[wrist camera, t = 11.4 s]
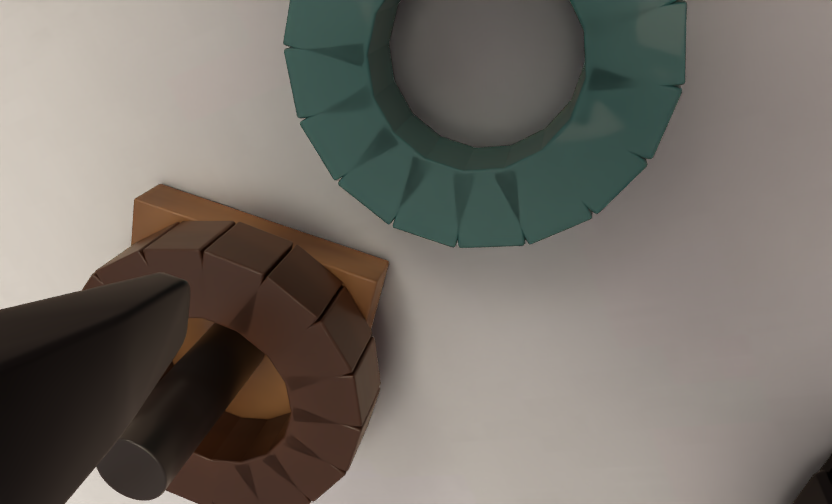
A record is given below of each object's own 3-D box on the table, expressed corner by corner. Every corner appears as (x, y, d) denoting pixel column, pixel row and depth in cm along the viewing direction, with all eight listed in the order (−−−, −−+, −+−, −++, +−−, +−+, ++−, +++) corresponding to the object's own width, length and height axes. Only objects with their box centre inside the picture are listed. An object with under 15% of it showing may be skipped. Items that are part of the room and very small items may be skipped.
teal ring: (743, -93, 16) (766, -97, 14) (592, 260, 20) (593, 295, 18) (354, -203, 16) (323, -220, 15) (290, 160, 21) (260, 183, 19)
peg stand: (390, 260, 22) (305, 405, 15) (340, 443, 25) (254, 624, 19) (159, 182, 22) (-20, 288, 16) (144, 371, 26) (-7, 522, 19)
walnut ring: (416, 287, 20) (398, 325, 18) (340, 505, 25) (319, 554, 23) (121, 175, 21) (73, 200, 19) (99, 407, 25) (58, 447, 23)
